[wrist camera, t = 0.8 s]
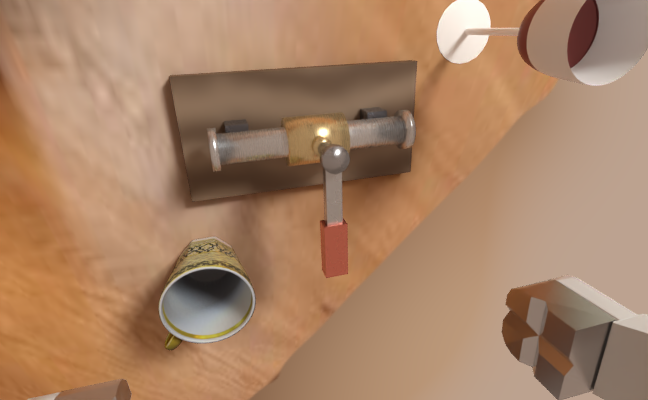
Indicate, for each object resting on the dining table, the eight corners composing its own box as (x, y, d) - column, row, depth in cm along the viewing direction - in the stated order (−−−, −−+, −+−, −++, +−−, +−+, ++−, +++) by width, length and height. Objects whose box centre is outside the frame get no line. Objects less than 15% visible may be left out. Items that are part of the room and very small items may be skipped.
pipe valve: (206, 117, 43) (206, 133, 36) (392, 100, 48) (423, 112, 41) (213, 162, 45) (215, 186, 38) (391, 142, 50) (419, 159, 43)
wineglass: (427, 9, 46) (566, -4, 29) (491, -15, 47) (663, -42, 30) (438, 75, 50) (567, 100, 32) (497, 51, 51) (654, 63, 33)
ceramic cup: (197, 209, 48) (196, 250, 39) (262, 248, 52) (274, 292, 44) (136, 287, 50) (121, 342, 41) (203, 318, 54) (204, 374, 45)
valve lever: (311, 137, 38) (322, 148, 35) (336, 134, 39) (349, 145, 36) (316, 261, 44) (326, 281, 41) (338, 257, 45) (350, 276, 41)
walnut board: (170, 75, 41) (169, 76, 40) (411, 60, 48) (417, 61, 47) (192, 196, 47) (192, 201, 46) (405, 168, 54) (410, 172, 52)
